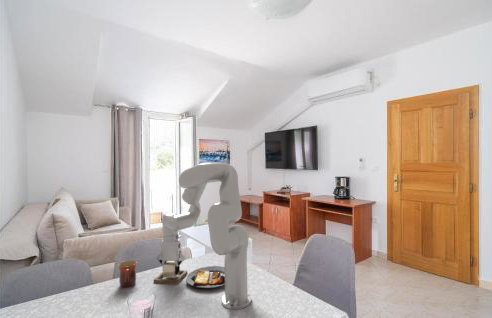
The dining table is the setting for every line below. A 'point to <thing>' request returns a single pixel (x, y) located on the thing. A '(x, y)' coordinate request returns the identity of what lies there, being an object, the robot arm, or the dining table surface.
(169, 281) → the walnut frame
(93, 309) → the dining table surface
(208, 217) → the robot arm
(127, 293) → the dining table surface
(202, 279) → the food plate
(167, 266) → the birch block
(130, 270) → the mug
